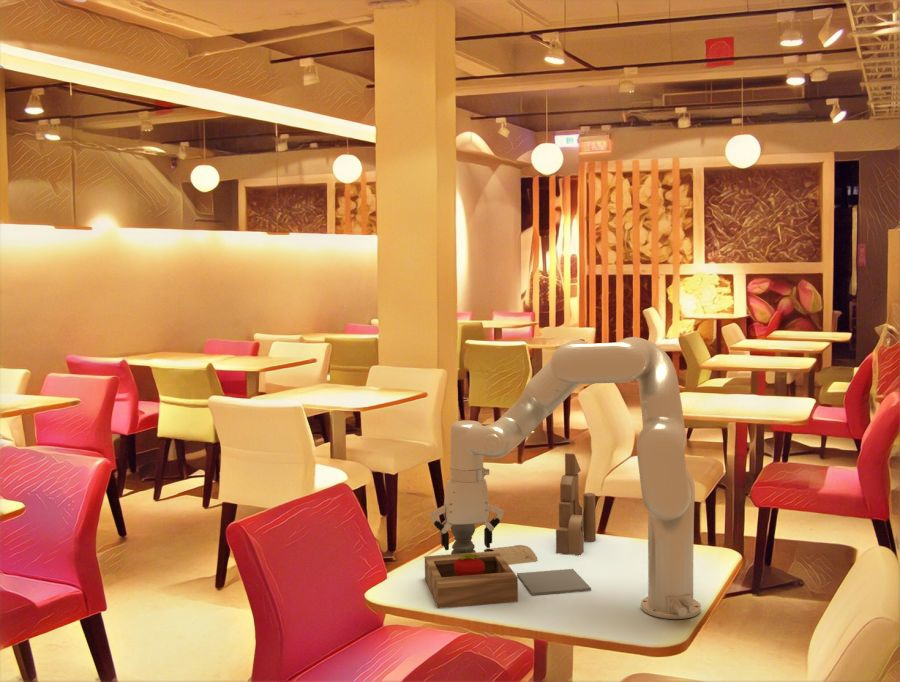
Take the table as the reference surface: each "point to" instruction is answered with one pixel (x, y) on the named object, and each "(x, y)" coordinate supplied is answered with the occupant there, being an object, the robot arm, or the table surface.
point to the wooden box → (471, 581)
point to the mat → (553, 582)
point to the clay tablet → (516, 554)
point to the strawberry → (469, 565)
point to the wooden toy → (574, 512)
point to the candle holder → (463, 538)
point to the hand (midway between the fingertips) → (466, 547)
